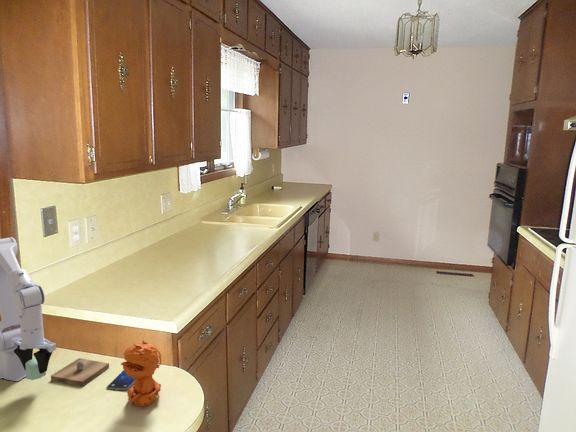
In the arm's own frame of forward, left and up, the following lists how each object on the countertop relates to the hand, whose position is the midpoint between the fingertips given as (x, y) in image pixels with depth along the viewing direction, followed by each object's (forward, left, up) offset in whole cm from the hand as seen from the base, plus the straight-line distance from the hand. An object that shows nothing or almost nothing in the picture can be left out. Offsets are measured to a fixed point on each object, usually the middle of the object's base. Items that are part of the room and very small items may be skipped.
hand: (35, 370), depth 131 cm
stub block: (+5, +12, -7) cm, 15 cm away
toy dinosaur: (+33, +5, -7) cm, 34 cm away
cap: (0, 0, -2) cm, 2 cm away
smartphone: (+21, +14, -7) cm, 27 cm away
